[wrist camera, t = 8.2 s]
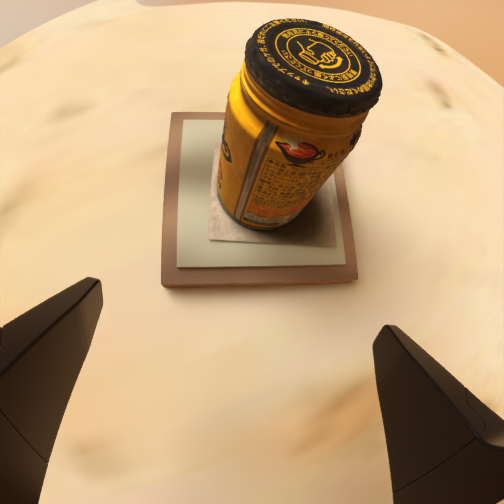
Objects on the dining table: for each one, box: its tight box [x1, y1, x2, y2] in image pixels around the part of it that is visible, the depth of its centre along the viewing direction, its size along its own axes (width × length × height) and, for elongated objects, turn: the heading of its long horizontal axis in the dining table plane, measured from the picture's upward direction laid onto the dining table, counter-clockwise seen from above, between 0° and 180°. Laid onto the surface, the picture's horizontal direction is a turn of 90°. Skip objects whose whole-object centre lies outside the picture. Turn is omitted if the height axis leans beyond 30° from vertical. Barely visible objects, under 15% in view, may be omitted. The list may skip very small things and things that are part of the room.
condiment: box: [207, 19, 382, 247], centre depth 15 cm, size 7×8×12 cm
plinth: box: [161, 112, 358, 287], centre depth 21 cm, size 13×13×2 cm
